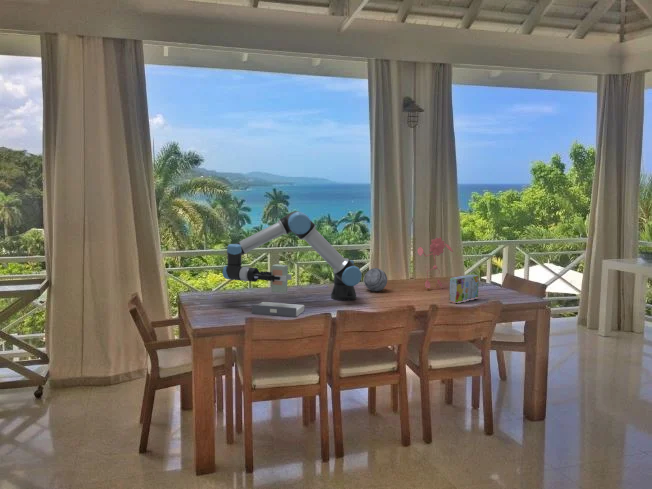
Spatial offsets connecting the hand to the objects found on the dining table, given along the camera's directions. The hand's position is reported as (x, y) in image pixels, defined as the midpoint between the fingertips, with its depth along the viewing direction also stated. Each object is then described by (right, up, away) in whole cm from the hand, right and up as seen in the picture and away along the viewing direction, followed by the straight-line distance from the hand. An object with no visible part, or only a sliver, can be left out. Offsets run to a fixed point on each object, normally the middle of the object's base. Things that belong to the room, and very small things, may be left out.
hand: (288, 278), depth 276 cm
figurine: (+92, -13, +69) cm, 116 cm away
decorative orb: (+52, -13, +63) cm, 82 cm away
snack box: (+102, -16, +37) cm, 110 cm away
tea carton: (-5, -7, +3) cm, 9 cm away
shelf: (-5, -18, +3) cm, 19 cm away
